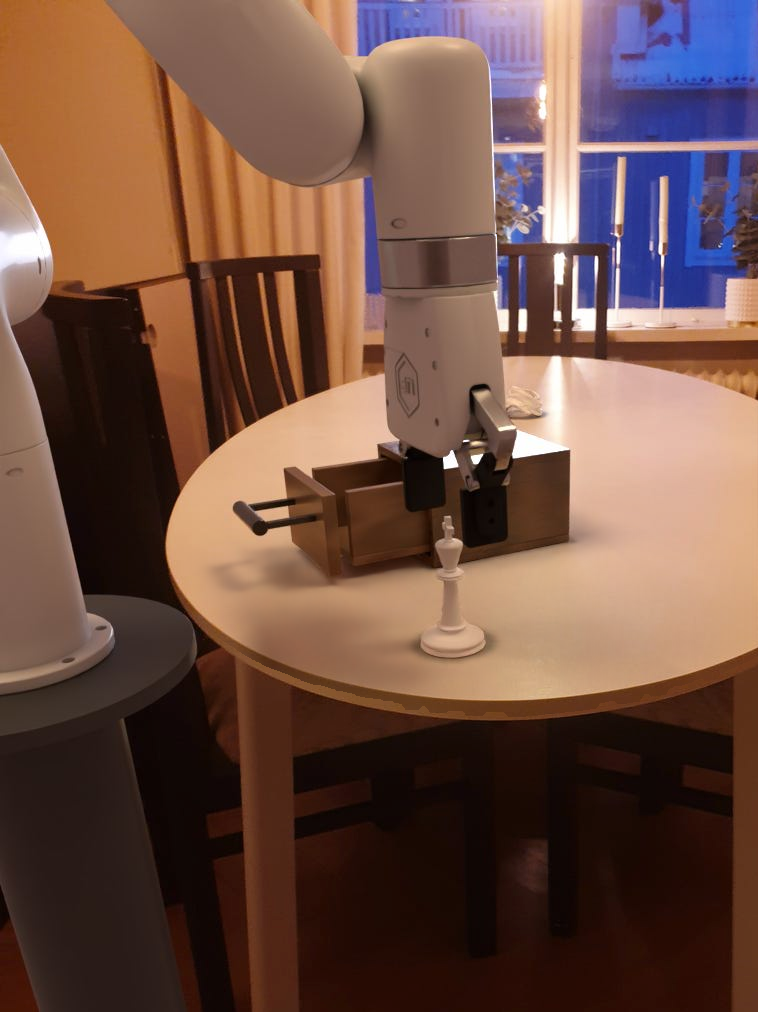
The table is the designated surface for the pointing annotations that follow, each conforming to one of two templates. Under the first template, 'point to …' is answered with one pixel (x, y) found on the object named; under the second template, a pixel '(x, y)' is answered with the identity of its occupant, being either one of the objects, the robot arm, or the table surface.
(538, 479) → the cabinet
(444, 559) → the chess piece
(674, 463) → the table surface
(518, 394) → the beige lumpy piece
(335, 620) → the table surface
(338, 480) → the drawer
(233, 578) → the table surface
